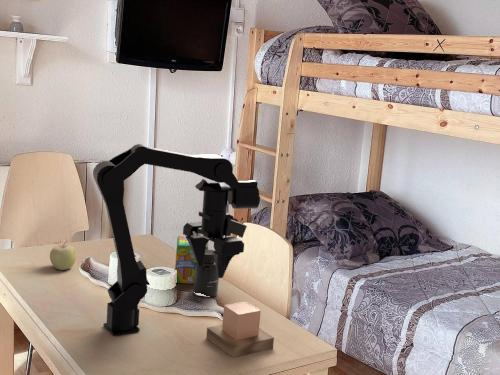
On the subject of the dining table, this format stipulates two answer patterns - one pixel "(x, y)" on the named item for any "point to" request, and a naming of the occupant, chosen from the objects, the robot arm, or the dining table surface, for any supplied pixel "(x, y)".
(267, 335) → the walnut base
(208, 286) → the supplement bottle
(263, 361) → the dining table surface
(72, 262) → the fruit
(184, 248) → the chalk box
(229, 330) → the terracotta cube
